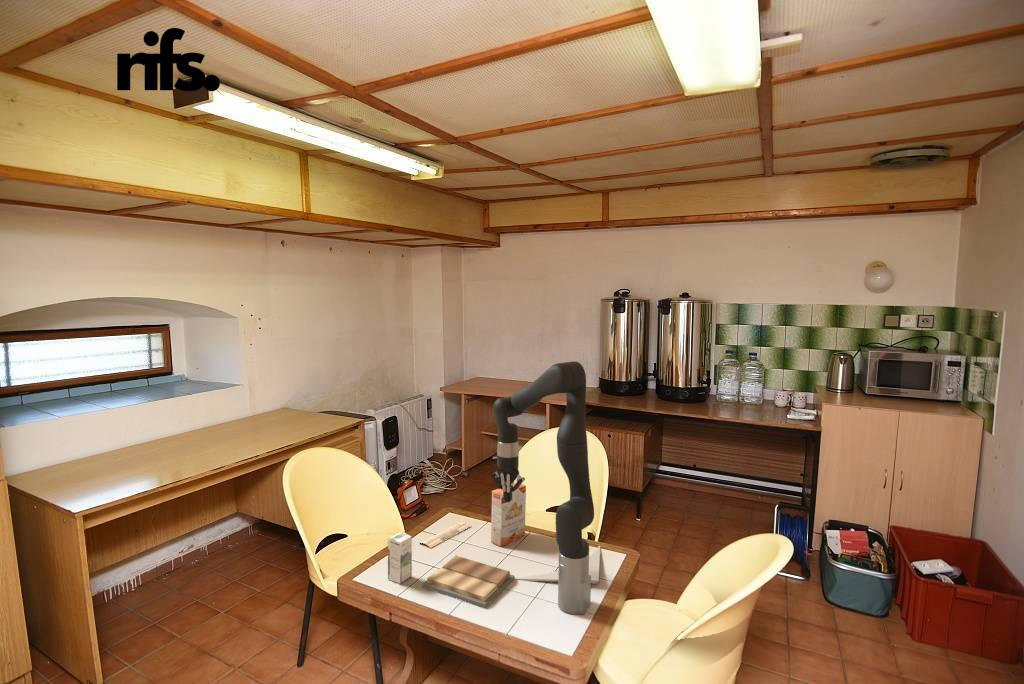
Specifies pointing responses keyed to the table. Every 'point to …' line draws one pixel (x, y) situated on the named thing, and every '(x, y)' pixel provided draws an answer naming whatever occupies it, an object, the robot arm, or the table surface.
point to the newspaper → (446, 534)
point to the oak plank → (462, 583)
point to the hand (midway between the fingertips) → (507, 501)
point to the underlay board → (467, 598)
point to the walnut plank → (478, 570)
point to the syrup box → (399, 557)
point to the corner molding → (553, 576)
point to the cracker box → (508, 516)
